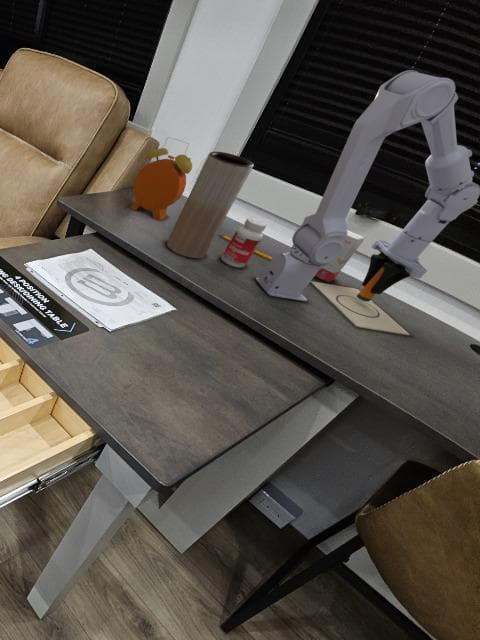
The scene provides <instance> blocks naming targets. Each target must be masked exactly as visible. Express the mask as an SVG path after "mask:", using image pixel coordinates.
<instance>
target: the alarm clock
mask: <svg viewBox="0 0 480 640" xmlns="http://www.w3.org/2000/svg"><path fill="white" fill-rule="evenodd" d="M169 139H173V140H176V141H180V142H183V143H185V144H187V147H186V150H185V152H184V154H178V155H176V156H173V155H170V154H169V151H168V149H167V148H165V144H166V143H167V141H168V138H166V140H165V142H164V143H163V145H162V147H160V148H159V147H158V146H155V149H153V150H150V151H149V152H148V153H147V155H146V160H151V159H153V158H155V159H156V160H153V161H151V162H149V163H148V164H145V165H144V166H142V167H141V168H140V170H139V171H138V173H137V174H136V176H135V178H134V181H133V185H132V190H133V191H132V192H133V197H134V199H135V201H133V203H132V204H131V205H130V206H129V209H132V210H134V211H136V210H139V209H141V208H143V209H144V210H147V211H151V212H152V218H153V219H155V220H158V221H161V220H163V219H165V218H166V217H167V211H168V210H167V209H168V207H170V206H172V205H174V204H175V203H176V202H178V201H179V199H180V198H181V197H182V195H183V194H184V192H185V189H186V186H187V175H188V174H190V173H191V171H192V169H193V163H192V160H191V157H188V156H187V155H186V153H187V151H188V148H189V145H190V143H187V142H185V141H183V140H180V139H177V138H174V137H171V136H169ZM165 155H168V156H167V158H161V159H159V157H161V156H165Z"/></svg>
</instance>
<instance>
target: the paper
mask: <svg viewBox="0 0 480 640" xmlns="http://www.w3.org/2000/svg"><path fill="white" fill-rule="evenodd" d="M310 284H312V286H314V288H316V289H317V290H318V291H319V292H320V294H321V295H323V296H324V297H325V298H326V299H327V300H328V302H330V303H331V304H332V305H333V306H334V307H335V308H336V309H337V310H338V311H339V312H340V313H341V314H342V315H343V316H344V317H345V318H346V319H347V320H348V321H349V322H350V323H351V324H352V325H353V326H354V327H355V328H361V329H366V330H373V331H379V332H384V333H391V334H395V335H396V334H397V335H402V336H403V335H404V336H411V334H410V333H409V332H408V331H407V330H406V329H404V328H403V327H402V326H401V325H400V324H399V323H397V321H395V320H394V319H393V318H392V317H390V315H389V314H387V313H386V312H385V311H383V309H382V308H380V307H379V306H378V305H377V304H376V303H375V302H374V301H372V299H371V300H370V301H369V302H366V301H363V300H361V299H359V298H358V297H357V295H358V294H359V293H360V291H361V290H360V289H359V288H354V287H348V286H344V285H342V286H341V285H337V284H330V283H324V282H318V281H314V280H313V281H312V280H311V281H310Z"/></svg>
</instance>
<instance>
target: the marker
mask: <svg viewBox="0 0 480 640" xmlns="http://www.w3.org/2000/svg"><path fill="white" fill-rule="evenodd" d="M386 264H391V265H395V264H393V263H389V262H385V263H384V264H383V265H382V267H381V268H380V269H379V270H378V271H377V273H376V274H375V275H374V276H373V277H372V278H371V280H370V281H369V282H368V283H367V284H366V285H365V286H363V288H362V289H361V290H360V293H359V294H358V295H357V297H358V298H359V299H361V300H363V301H366V302H369V301H370V300H371V301H372V299H373V298H374V297H375V296H376V294H373V293H371V292H370V291H371V289H372V287H373V286H374V285H375V284H376V282H377V281H378V280H379V278H380V277H381V275H382V273H383V271H384V268H385V265H386Z"/></svg>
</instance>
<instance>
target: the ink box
mask: <svg viewBox="0 0 480 640" xmlns="http://www.w3.org/2000/svg"><path fill="white" fill-rule="evenodd" d="M365 239H366V237H364V236H362V235H360V234H358V233H355V232H353V231H350V230H348V229H347V235H346V237H345V240H344V245H345V246H344V250H343V252H342V254H341V255H340V256H339V257H338V258H337V259H336V260H334V261H332V262H330V263H328V264H326V265H325V266H322V267H321V268H320V269H319V271H318V272H317V273H316V275H315V276H314V277H315V278H317V279H319V280H322V281H324V282H326V283H329V282H331V281H333V280H335V279H336V278H337V276H338V275H339V273H340V272H342V270H343V269H344V267H345V266H346V265H347V263H348V261H349V260H350V259H351V258H352V257H353V255H354V254H355V253H356V251H358V249H359V248H360V246H361V245H362V243H364V241H365Z"/></svg>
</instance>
